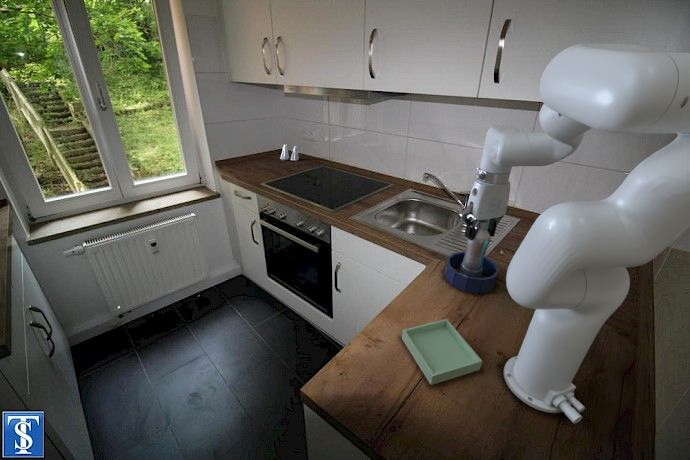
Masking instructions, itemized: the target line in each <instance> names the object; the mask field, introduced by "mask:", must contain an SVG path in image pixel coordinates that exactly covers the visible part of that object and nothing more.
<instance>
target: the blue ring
mask: <svg viewBox="0 0 690 460" xmlns="http://www.w3.org/2000/svg"><path fill="white" fill-rule="evenodd" d="M464 256H465V251H459V252H454V253H451V254H450V255H448V257H447V258H446V262H445V266H444V278H445V280H446V281H447V283H449V284H450V285H451V286H452V287H454V288H456V289H458V290H460V291H463V292H465V293H468V294H469V293H470V294H476V295H477V294H478V295H481V294H485V293H490V292H491V291H493V289H494V288H495V287H496V284H497V280H498V277H499V275H500V269H499V267H498V265H497V263H496V262H494V261H493V260H492V259H490V258H489V257H487V256H486V255H484V259H483V266H482V269H483V270H482V273H484V274H486V275H487V277H481V278H475V277H468V276H466V275H464V274H461V273H460V271H457V270H456V269H455V268H457V267H460V266H461V264H462V262H463V259H464Z"/></svg>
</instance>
